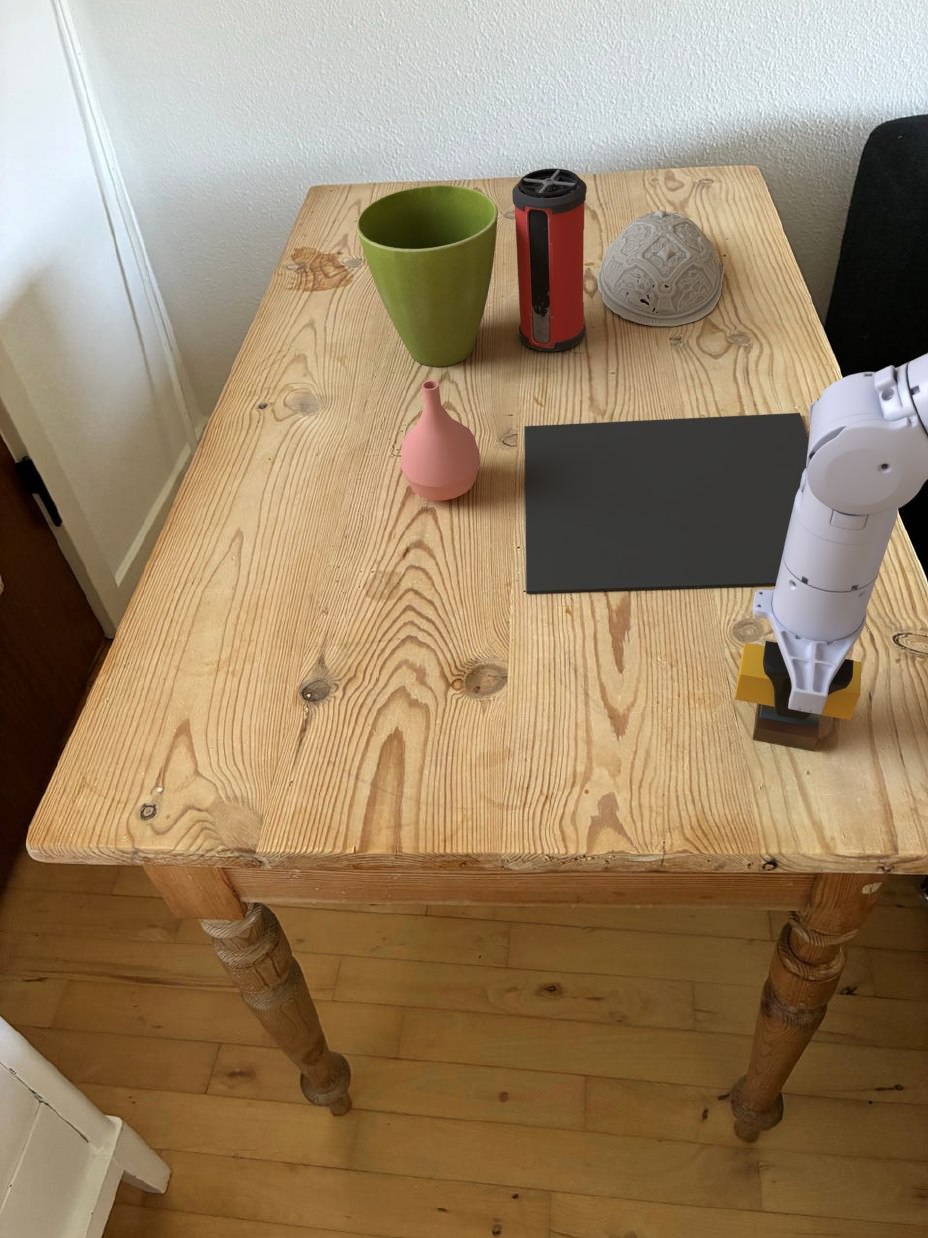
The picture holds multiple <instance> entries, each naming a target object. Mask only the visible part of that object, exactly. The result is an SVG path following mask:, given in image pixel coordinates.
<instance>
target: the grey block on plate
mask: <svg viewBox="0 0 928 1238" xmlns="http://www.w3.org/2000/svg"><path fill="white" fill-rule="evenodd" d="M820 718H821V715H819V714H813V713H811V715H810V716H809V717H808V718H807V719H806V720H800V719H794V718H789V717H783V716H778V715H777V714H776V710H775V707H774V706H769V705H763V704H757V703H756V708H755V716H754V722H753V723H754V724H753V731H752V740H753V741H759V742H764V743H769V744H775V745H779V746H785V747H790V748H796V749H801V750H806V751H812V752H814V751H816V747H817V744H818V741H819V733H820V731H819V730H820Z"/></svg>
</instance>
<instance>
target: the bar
mask: <svg viewBox="0 0 928 1238" xmlns="http://www.w3.org/2000/svg"><path fill="white" fill-rule="evenodd" d="M764 649H765V645H760V644H755V643H748V642H745V643H743V648H742V652H741V656H740V662H739V666H738V673H737V680H736V685H735V686H736V687H735V694H734V700H735V701H741V702H747V703H753V704H756V705H757V704H763V705H769V706H774V707H775V704H774V688H773V685H772V682H771V680H770V679H769V677H768V676H767V675H766V674H765V672H764V667H763V657H764ZM861 683H862V662H861V661H857V660H854V664H853V677H852V680H851V682H850V684H849V685H848V686H847V688H845V689H842V690H838V691H836V692H833V693H832V694H830V695H828V696H827V700H826V703H825V706H824V709H823V712H822V714H819V715H820V716H826V717H831V718H837V719H841V720H847V721H852V718H853V717H854V713H855V711H856V707H857V705H858V702H859V699H860V696H861V689H862V688H861V686H862V684H861ZM813 714H815V713H813Z"/></svg>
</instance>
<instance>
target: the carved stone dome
mask: <svg viewBox="0 0 928 1238" xmlns="http://www.w3.org/2000/svg"><path fill="white" fill-rule="evenodd" d="M725 268H726V266H725V265H724V263H722V262H721V260H720V257H719V255H718V253H717V251H716V249H715V248H714V243H713V242H712V241H711V240H710V238H708V236H707V235H706V234H705V233H704V232H703V230H701V228H700V227H699V226H698V225H697V224H696V223H695V221H694V220H692V219H690V218H688V217H687V216H685V215H682V214H679V213H677V212H672V211H666V210H663V209H659V210H656V211H651V212H647V213H645V214H643V215H641V216H638V217H636V218H635V219H633V220H631V221H629V223H627V224H626V225H625V227H624V228H623V229H622V231H621V232H620V233H619V234H618V236H617V237H616V238H615V239H614V240H613V241H612V242H610V243H609V245H607V247H606V250H605V254H604V257H603V258H602V261H601V262H600V265H599V267H598V269H599V271H598V272H597V277H596V284H597V288H598V291H599V292H600V293H601V295H602V302H603V303H604V304H605V306H606V307H607V308H608V309H610V310H611V311H612V312H613V313H614V314H616V315H618V316H620V317H621V318H622V319H624V320H627V321H629V322H633V323H635V324H639V325H644V326H648V327H649V326H650V327H668V328H670V327H673V328H674V327H679V326H683V325H688V324H690V323H694V322H698V321H700V320H701V319H703V318H704V317H706V316H707V315H709V314H710V313H711V312H712V311H714V309H715V307H716V305H717V304H718V302H719V300H720V298H721V295H722V289H723V281H724V280H725V278H724V274H725V273H726V271H725V270H726V269H725ZM641 300H644V301H645V302H642V301H641ZM647 303H648V304H647Z"/></svg>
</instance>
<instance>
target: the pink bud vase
mask: <svg viewBox="0 0 928 1238" xmlns="http://www.w3.org/2000/svg"><path fill="white" fill-rule="evenodd" d="M421 390H422V399H423V403H424V408H423V410H422V413H421V415H420V417H419V419H418V422H417V423H416V424H415V425H414V426H413V427H412V428H411V429H410V430H408V432H407V433H406V435H405V436H404V437H403V439H402V441H401V449H400V451H401V452H400V453H401V454H400V470H401V472H402V474H403V475H404V477H405V479H406V481H407V483H408V484H409V486H410V488H411V490H412V492H414V493H415V494H416V495H417V496H419V497H420V498H423V499H427V500H430V501H447V500H453V499H455V498H458V497H460V496H462V495H464V494H466V493H467V492H468V491H469V490H471V489H472V487H473V486H474V484H475V481H476V479H477V477H478V476H477V475H478V471H479V467H480V465H481V454H480V451H479V446H478V444H477V441H476V439H475V435H474V434H473V432H472V431H471V429H470V428H468V427H467V426H465V425H464V424H463V423H461V422H460V421H457V420H456V419H454V418H453V417H452V416H451V415H450V414H449V413H448V411H447V410H446V409H445V407H443V405H442V399H441V391H440V383H439V381H437V380H435V379H429V380H426V381H424V382H423V383H422V384H421Z"/></svg>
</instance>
